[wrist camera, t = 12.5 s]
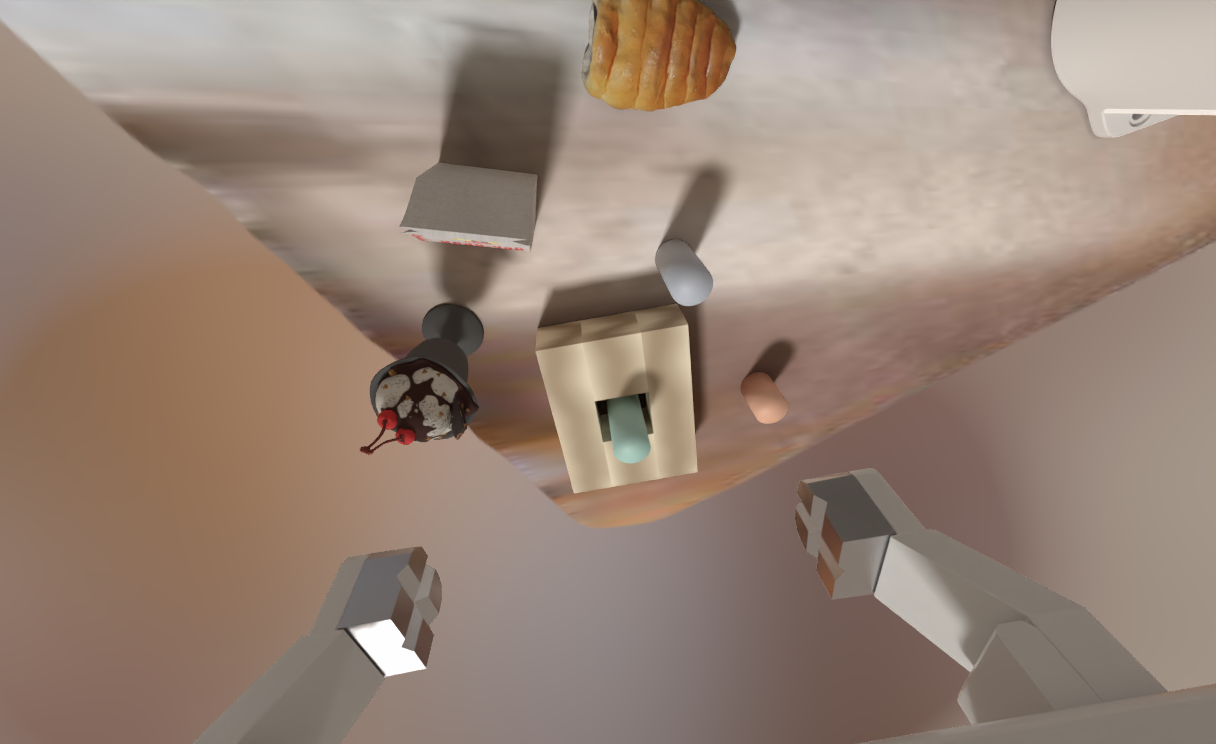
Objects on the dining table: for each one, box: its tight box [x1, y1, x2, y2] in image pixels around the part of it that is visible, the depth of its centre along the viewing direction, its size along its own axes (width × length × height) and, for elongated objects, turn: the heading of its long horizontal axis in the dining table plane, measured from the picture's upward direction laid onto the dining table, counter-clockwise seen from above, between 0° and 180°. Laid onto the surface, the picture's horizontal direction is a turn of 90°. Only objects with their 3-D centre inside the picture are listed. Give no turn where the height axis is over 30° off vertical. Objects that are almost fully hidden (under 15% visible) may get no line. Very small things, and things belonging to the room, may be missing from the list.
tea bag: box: [400, 162, 537, 251], centre depth 29 cm, size 4×7×10 cm, turn 82°
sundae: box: [360, 304, 483, 455], centre depth 33 cm, size 7×7×15 cm
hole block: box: [536, 304, 697, 493], centre depth 42 cm, size 12×16×4 cm
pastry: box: [582, 0, 736, 111], centre depth 28 cm, size 9×7×4 cm
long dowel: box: [606, 394, 651, 463], centre depth 40 cm, size 3×3×8 cm
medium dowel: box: [655, 239, 713, 306], centre depth 35 cm, size 3×3×6 cm
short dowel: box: [741, 372, 789, 424], centre depth 43 cm, size 3×3×4 cm
